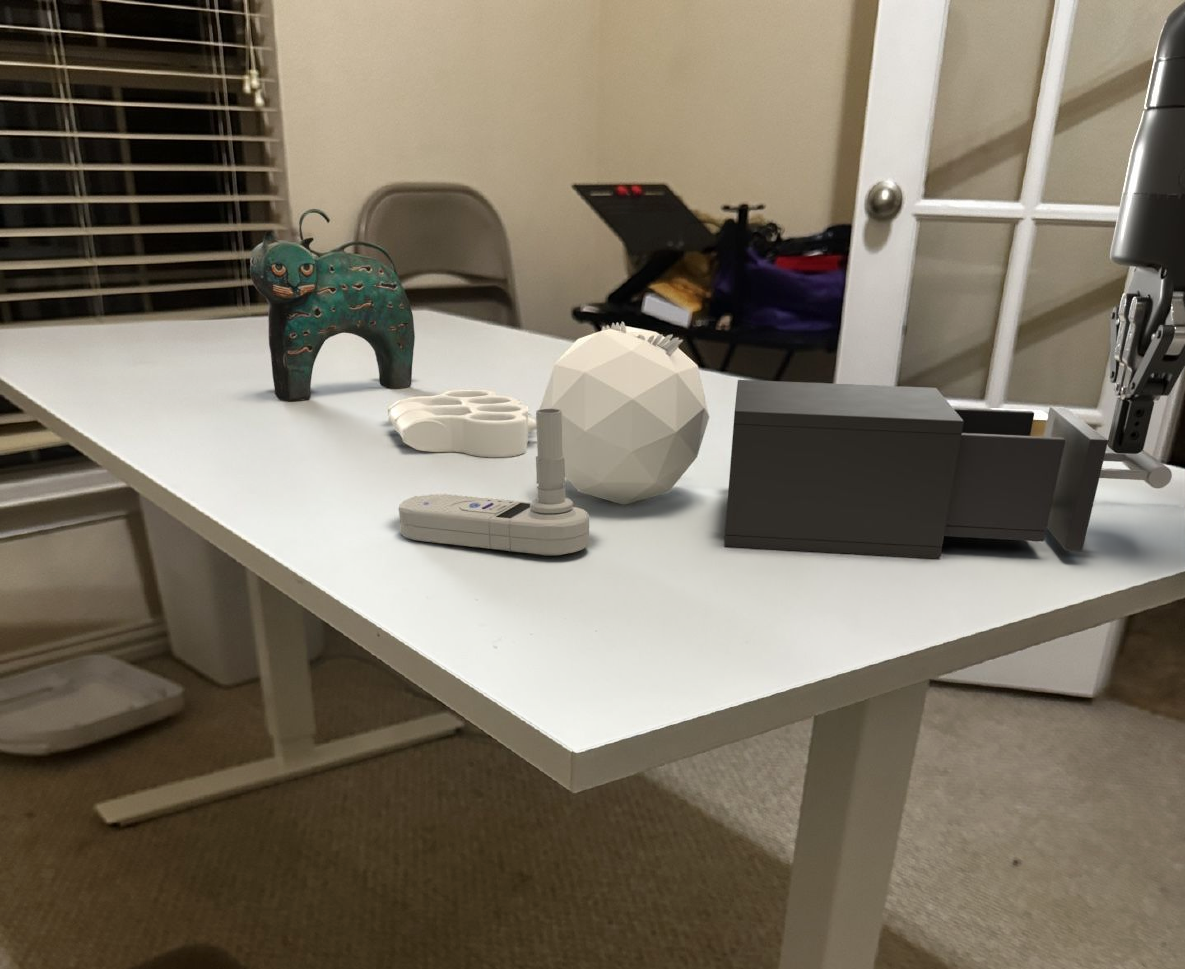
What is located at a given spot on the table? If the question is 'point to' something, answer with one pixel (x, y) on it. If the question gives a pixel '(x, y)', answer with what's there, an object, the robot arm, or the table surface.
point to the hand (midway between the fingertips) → (1123, 450)
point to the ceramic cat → (330, 309)
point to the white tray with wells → (464, 423)
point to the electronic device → (507, 509)
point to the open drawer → (1034, 476)
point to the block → (1036, 422)
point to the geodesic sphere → (627, 412)
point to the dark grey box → (841, 468)
